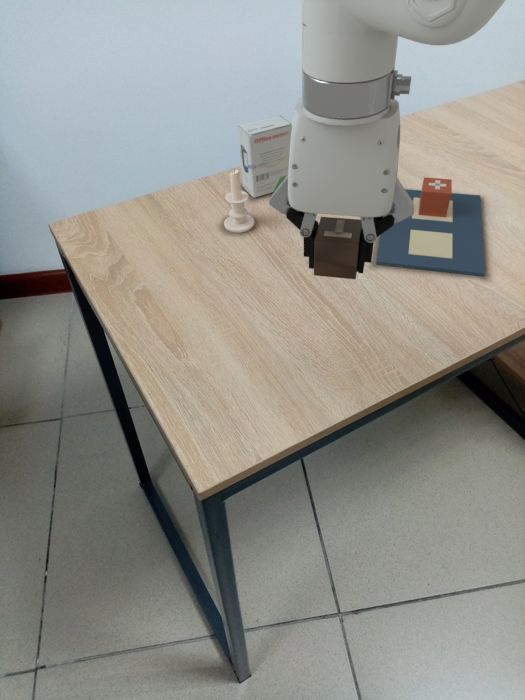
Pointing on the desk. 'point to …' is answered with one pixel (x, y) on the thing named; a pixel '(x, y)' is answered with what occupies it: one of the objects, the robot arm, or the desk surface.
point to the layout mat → (437, 238)
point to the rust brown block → (435, 197)
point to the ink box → (264, 154)
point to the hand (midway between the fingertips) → (337, 261)
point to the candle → (237, 207)
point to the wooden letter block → (337, 247)
